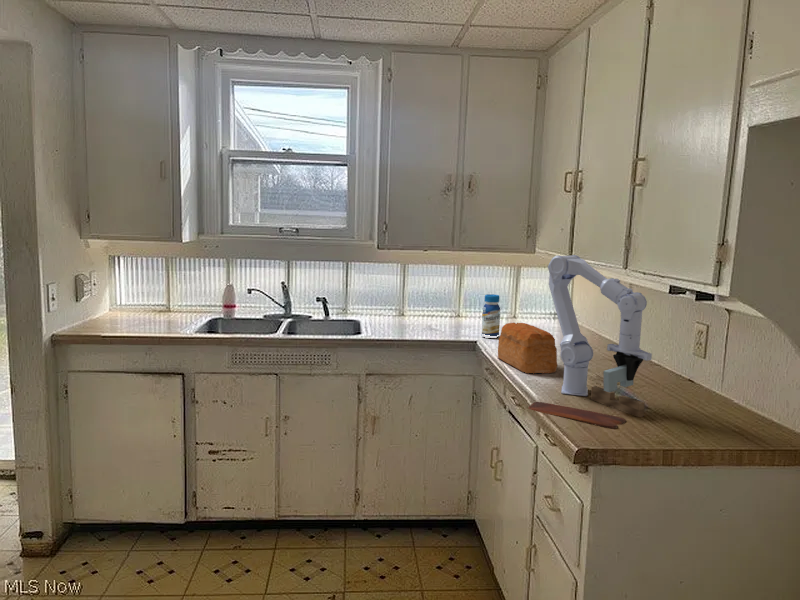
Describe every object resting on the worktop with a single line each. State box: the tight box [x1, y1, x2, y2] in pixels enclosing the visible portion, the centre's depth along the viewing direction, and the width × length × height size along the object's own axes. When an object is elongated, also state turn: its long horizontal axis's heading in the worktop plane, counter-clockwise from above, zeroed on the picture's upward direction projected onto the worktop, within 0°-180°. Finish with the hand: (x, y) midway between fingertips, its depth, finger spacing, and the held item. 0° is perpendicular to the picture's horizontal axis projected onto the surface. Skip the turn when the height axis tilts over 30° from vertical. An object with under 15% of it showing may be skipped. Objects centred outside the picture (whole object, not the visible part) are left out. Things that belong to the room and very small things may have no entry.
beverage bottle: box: [481, 293, 501, 336], centre depth 273 cm, size 8×8×20 cm
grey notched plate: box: [603, 365, 634, 392], centre depth 172 cm, size 10×2×6 cm, turn 118°
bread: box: [497, 322, 558, 375], centre depth 222 cm, size 14×27×15 cm, turn 15°
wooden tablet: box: [528, 401, 627, 430], centre depth 166 cm, size 27×10×2 cm, turn 52°
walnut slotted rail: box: [590, 385, 646, 418], centre depth 173 cm, size 18×2×4 cm, turn 28°
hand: (626, 379), depth 173 cm, fingers closed on grey notched plate, 2 cm apart
